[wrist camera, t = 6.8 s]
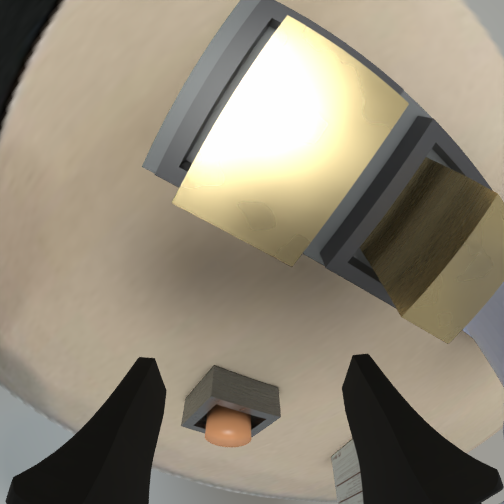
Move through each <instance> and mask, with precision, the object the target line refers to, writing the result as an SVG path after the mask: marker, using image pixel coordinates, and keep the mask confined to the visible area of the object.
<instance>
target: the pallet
mask: <svg viewBox="0 0 504 504" xmlns="http://www.w3.org/2000/svg"><path fill="white" fill-rule="evenodd" d="M287 15H288V16H290V17H292V18H294V19H295V20H297V21H299V22H301V23H302V24H304V25H306V26H307V27H309V28H311V29H312V30H314V31H315V32H317V33H319V34H320V35H322V36H323V37H325V38H326V39H328V40H329V41H331V42H332V43H334V44H335V45H337V46H338V47H340V48H341V49H343V50H344V51H345V52H347V53H348V54H350V55H351V56H352V57H354V58H355V59H356V60H358V61H359V62H360V63H362V64H363V65H364V66H366V67H367V68H368V69H369V70H371V71H372V72H373V73H374V74H376V75H377V76H378V77H379V78H381V79H382V80H383V81H384V82H385V83H387V84H388V85H389V86H390V87H391V88H392V89H394V90H395V91H396V92H397V93H398V94H399V95H400V96H401V97H403V98H404V99H405V100H406V101H407V102H408V103H409V105H408V106H407V108H406V109H405V111H404V112H403V114H402V115H401V117H400V118H399V120H398V121H397V123H396V124H395V126H394V127H393V128H392V130H391V131H390V133H389V134H388V136H387V137H386V139H385V140H384V142H383V143H382V145H381V146H380V147H379V149H378V150H377V152H376V153H375V155H374V156H373V158H372V159H371V160H370V162H369V163H368V165H367V166H366V168H365V169H364V170H363V172H362V173H361V175H360V176H359V177H358V179H357V180H356V182H355V183H354V184H353V186H352V187H351V189H350V190H349V191H348V193H347V194H346V195H345V197H344V198H343V200H342V201H341V202H340V204H339V205H338V206H337V208H336V209H335V211H334V212H333V213H332V215H331V216H330V217H329V219H328V220H327V221H326V223H325V224H324V225H323V227H322V228H321V229H320V231H319V232H318V233H317V235H316V236H315V237H314V239H313V240H312V241H311V243H310V244H309V245H308V247H307V248H306V249H305V251H304V252H303V254H304V255H306V256H308V257H310V258H311V259H313V260H315V261H317V262H318V263H320V264H322V265H324V266H325V268H327V269H329V270H330V271H332V272H334V273H336V274H337V275H339V276H341V277H343V278H344V279H346V280H348V281H350V282H351V283H353V284H355V285H357V286H358V287H360V288H362V289H364V290H365V291H367V292H369V293H370V294H372V295H374V296H376V297H377V298H379V299H381V300H382V301H384V302H386V303H388V304H389V305H391V306H393V307H394V308H396V307H395V305H394V303H393V301H392V300H391V298H390V296H389V295H388V293H387V291H386V290H385V288H384V286H383V285H382V283H381V281H380V280H379V278H378V276H377V275H376V273H375V272H374V270H373V268H372V267H371V265H370V264H369V262H368V260H367V259H366V257H365V256H364V254H363V253H362V251H361V249H360V246H361V245H362V244H363V243H364V241H365V240H366V239H367V238H368V236H369V235H370V234H371V232H372V231H373V230H374V228H375V227H376V226H377V225H378V223H379V222H380V221H381V219H382V218H383V217H384V215H385V214H386V213H387V211H388V210H389V209H390V207H391V206H392V205H393V203H394V202H395V201H396V199H397V198H398V196H399V195H400V194H401V192H402V191H403V189H404V188H405V187H406V185H407V184H408V182H409V181H410V180H411V178H412V177H413V175H414V174H415V172H416V171H417V170H418V168H419V167H420V165H421V164H422V162H423V161H424V159H425V158H429V159H431V160H433V161H435V162H438V163H440V164H442V165H444V166H446V167H448V168H450V169H452V170H454V171H456V172H458V173H460V174H462V175H464V176H466V177H468V178H470V179H472V180H474V181H476V182H478V183H479V184H481V185H483V186H485V187H487V188H489V189H490V190H492V189H491V187H490V186H489V185H488V183H487V182H486V180H485V179H484V178H483V176H482V175H481V174H480V172H479V171H478V170H477V168H476V167H475V166H474V165H473V163H472V162H471V161H470V160H469V158H468V157H467V156H466V155H465V153H464V152H463V151H462V150H461V149H460V147H459V146H458V145H457V144H456V143H455V142H454V140H453V139H452V138H451V137H450V136H449V135H448V134H447V133H446V131H445V130H444V129H443V128H442V127H441V126H440V125H439V124H438V123H437V122H436V121H435V120H434V119H433V118H432V117H431V116H430V115H429V114H428V113H427V112H426V111H425V110H424V109H423V108H422V107H421V106H420V105H419V104H418V103H416V102H415V101H414V100H413V99H412V98H411V97H410V96H409V95H408V94H407V93H406V92H405V91H404V90H403V89H402V88H401V87H400V86H399V85H398V84H397V83H396V82H394V81H393V80H392V79H391V78H390V77H389V76H387V75H386V74H385V73H384V72H383V71H381V70H380V69H379V68H378V67H376V66H375V65H374V64H373V63H371V62H370V61H369V60H368V59H366V58H365V57H364V56H362V55H361V54H360V53H358V52H357V51H356V50H354V49H353V48H352V47H350V46H349V45H347V44H346V43H345V42H343V41H342V40H340V39H339V38H337V37H336V36H334V35H333V34H331V33H330V32H328V31H327V30H325V29H324V28H322V27H321V26H319V25H317V24H316V23H314V22H313V21H311V20H309V19H308V18H306V17H304V16H302V15H301V14H299V13H297V12H295V11H294V10H292V9H290V8H288V7H286V6H285V5H283V4H281V3H279V2H277V1H275V0H240V2H239V3H238V4H237V6H236V7H235V8H234V10H233V11H232V12H231V14H230V15H229V16H228V18H227V19H226V21H225V22H224V23H223V25H222V26H221V28H220V29H219V31H218V32H217V33H216V35H215V36H214V38H213V39H212V41H211V42H210V44H209V45H208V47H207V48H206V50H205V51H204V53H203V55H202V56H201V58H200V59H199V61H198V62H197V64H196V66H195V67H194V69H193V71H192V72H191V74H190V76H189V77H188V79H187V81H186V82H185V84H184V86H183V88H182V89H181V91H180V93H179V95H178V96H177V98H176V100H175V102H174V104H173V105H172V107H171V109H170V111H169V113H168V115H167V116H166V118H165V120H164V122H163V124H162V126H161V128H160V130H159V132H158V134H157V136H156V138H155V140H154V142H153V144H152V146H151V148H150V150H149V152H148V155H147V157H146V159H145V161H144V163H143V165H142V167H143V168H145V169H147V170H149V171H151V172H153V173H155V175H156V176H158V177H160V178H162V179H164V180H166V181H168V182H169V183H171V184H173V185H175V186H177V187H179V188H180V186H181V184H182V182H183V180H184V178H185V176H186V174H187V173H188V171H189V169H190V167H191V165H192V163H193V161H194V160H195V158H196V156H197V154H198V152H199V151H200V149H201V147H202V145H203V144H204V142H205V140H206V138H207V137H208V135H209V133H210V131H211V130H212V128H213V126H214V124H215V123H216V121H217V119H218V118H219V116H220V114H221V113H222V111H223V109H224V108H225V106H226V105H227V103H228V101H229V100H230V98H231V97H232V95H233V93H234V92H235V90H236V89H237V87H238V86H239V84H240V82H241V81H242V79H243V78H244V76H245V75H246V73H247V72H248V70H249V69H250V67H251V66H252V64H253V63H254V61H255V60H256V58H257V57H258V55H259V54H260V52H261V51H262V50H263V48H264V47H265V45H266V44H267V42H268V41H269V40H270V38H271V37H272V36H273V34H274V33H275V31H276V30H277V29H278V27H279V26H280V25H281V23H282V22H283V21H284V19H285V18H286V17H287ZM492 191H493V190H492ZM396 309H397V308H396Z"/></svg>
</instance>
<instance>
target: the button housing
mask: <svg viewBox="0 0 504 504" xmlns="http://www.w3.org/2000/svg"><path fill="white" fill-rule="evenodd" d="M216 404H217V405H220V406H223V407H226V408H229V409H233V410H236V411H239V412H243V413H246V414H250V415H251V437H253V436H254V435H256V434H257V433H259V432H260V431H262V430H263V429H265V428H266V427H267V426H269V425H270V424H272V423H273V422H274V421H276V420H277V419H279V418H280V417H281V414H280V402H279V389H278V388H277V387H274V386H271V385H268V384H265V383H262V382H259V381H256V380H253V379H250V378H247V377H244V376H242V375H239V374H236V373H233V372H231V371H228V370H225V369H222V368H220V367H217V366H215V365H214V366H213V367H212V369H211V370H210V371H209V372H208V373H207V374H206V376H205V377H204V378H203V379H202V380H201V381H200V383H199V384H198V385H197V386H196V387H195V388H194V390H193V391H192V392H191V393H190V394H189V395H188V396H187V398H186V399H185V405H184V411H183V417H182V424H181V426H183V427H186V428H189V429H192V430H196V431H199V432H202V433H205V431H206V421H207V412H209V411H210V410H211V409H212V408H213V407H214V406H215V405H216Z"/></svg>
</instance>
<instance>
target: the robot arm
mask: <svg viewBox="0 0 504 504" xmlns="http://www.w3.org/2000/svg"><path fill="white" fill-rule="evenodd" d="M463 331H464V332H465V333H467V334H468V335H470V336H471V337H472V338H473V339H474V340H475V342H476V343H477V345H478V346H479V348H480V349H481V351H482V352H483V354H484V355H485V357H486V359H487V360H488V362H489V363H490V365H491V367H492V368H493V370H494V372H495V373H496V375H497V377H498V378H499V380H500V382H501V383H502V385H503V387H504V282H503V283H502V284H501V286H500V287H499V288H498V290H497V291H496V292H495V293H494V294H493V296H492V297H491V298H490V299H489V301H488V302H487V303H486V304H485V305H484V306H483V308H482V309H481V310H480V311H479V312H478V313H477V314H476V316H475V317H474V318H473V319H472V320H471V321H470V322H469V323H468V324H467V325H466V326H465V328H464V329H463ZM342 391H343V399H344V405H345V411H346V415H347V419H348V423H349V426H350V430H351V434H352V438H353V441H354V445H355V449H356V453H357V456H358V461H359V466H360V473H361V482H362V492H363V504H481V502H483V501H485V500H486V499H488V498H489V497H491V496H493V495H495V494H496V493H498V492H499V491H501V490H502V489H503V484H502V481H501V478H500V475H499V473H498V471H497V469H495V468H493V467H490V466H488V465H486V464H484V463H482V462H480V461H478V460H476V459H475V458H473V457H471V456H470V455H468V454H466V453H465V452H463V451H462V450H460V449H459V448H458V447H456V446H455V445H453V444H452V443H451V442H449V441H448V440H446V439H445V438H444V437H443V436H442V435H440V434H439V433H438V432H437V431H436V430H434V429H433V428H432V427H431V426H430V425H429V424H428V423H427V422H426V421H425V420H424V419H423V418H422V417H421V416H420V415H419V414H418V413H417V412H416V411H415V410H414V409H413V408H412V407H411V406H410V405H409V404H408V402H407V401H406V400H405V399H404V398H403V397H402V396H401V394H400V393H399V392H398V391H397V390H396V388H395V387H394V386H393V385H392V384H391V382H390V381H389V380H388V379H387V377H386V376H385V375H384V373H383V372H382V371H381V370H380V368H379V367H378V366H377V364H376V363H375V362H374V360H373V359H372V358H371V357H370V355H369V354H361V355H353V356H352V359H351V362H350V365H349V369H348V372H347V375H346V378H345V381H344V383H343V386H342ZM165 398H166V388H165V385H164V383H163V380H162V377H161V375H160V372H159V369H158V366H157V363H156V361H155V358H144V357H139V358H138V359H137V361H136V362H135V363H134V365H133V366H132V367H131V369H130V370H129V372H128V373H127V374H126V376H125V377H124V378H123V380H122V381H121V382H120V384H119V385H118V386H117V388H116V389H115V390H114V392H113V393H112V394H111V395H110V397H109V398H108V399H107V401H106V402H105V403H104V404H103V405H102V407H101V408H100V409H99V410H98V411H97V412H96V413H95V415H94V416H93V417H92V418H91V419H90V420H89V421H88V422H87V423H86V424H85V425H84V426H83V428H82V429H80V430H79V431H78V432H77V433H76V434H75V435H74V436H73V437H72V438H71V439H70V440H69V441H68V442H66V443H65V444H64V445H63V446H62V447H60V448H59V449H58V450H57V451H55V452H54V453H53V454H51V455H50V456H48V457H47V458H45V459H44V460H42V461H41V462H40V463H38V464H37V465H35V466H33V467H31V468H30V469H28V470H26V471H24V472H22V473H21V474H19V475H17V476H15V477H13V480H12V482H11V485H10V488H9V492H8V495H7V498H6V503H7V504H148V503H149V485H150V475H151V467H152V461H153V457H154V452H155V448H156V444H157V440H158V436H159V431H160V427H161V423H162V419H163V414H164V407H165ZM503 436H504V423H503ZM499 504H504V501H503V502H501V503H499Z"/></svg>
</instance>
